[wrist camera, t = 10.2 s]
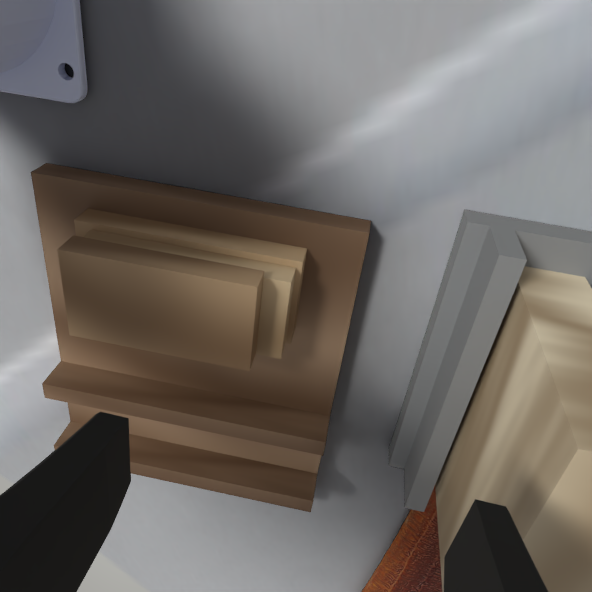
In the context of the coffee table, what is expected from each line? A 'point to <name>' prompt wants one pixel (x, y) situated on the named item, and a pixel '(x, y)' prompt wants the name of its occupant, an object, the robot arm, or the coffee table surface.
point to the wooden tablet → (412, 556)
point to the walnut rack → (200, 375)
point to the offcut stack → (180, 289)
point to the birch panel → (532, 431)
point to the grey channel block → (471, 332)
